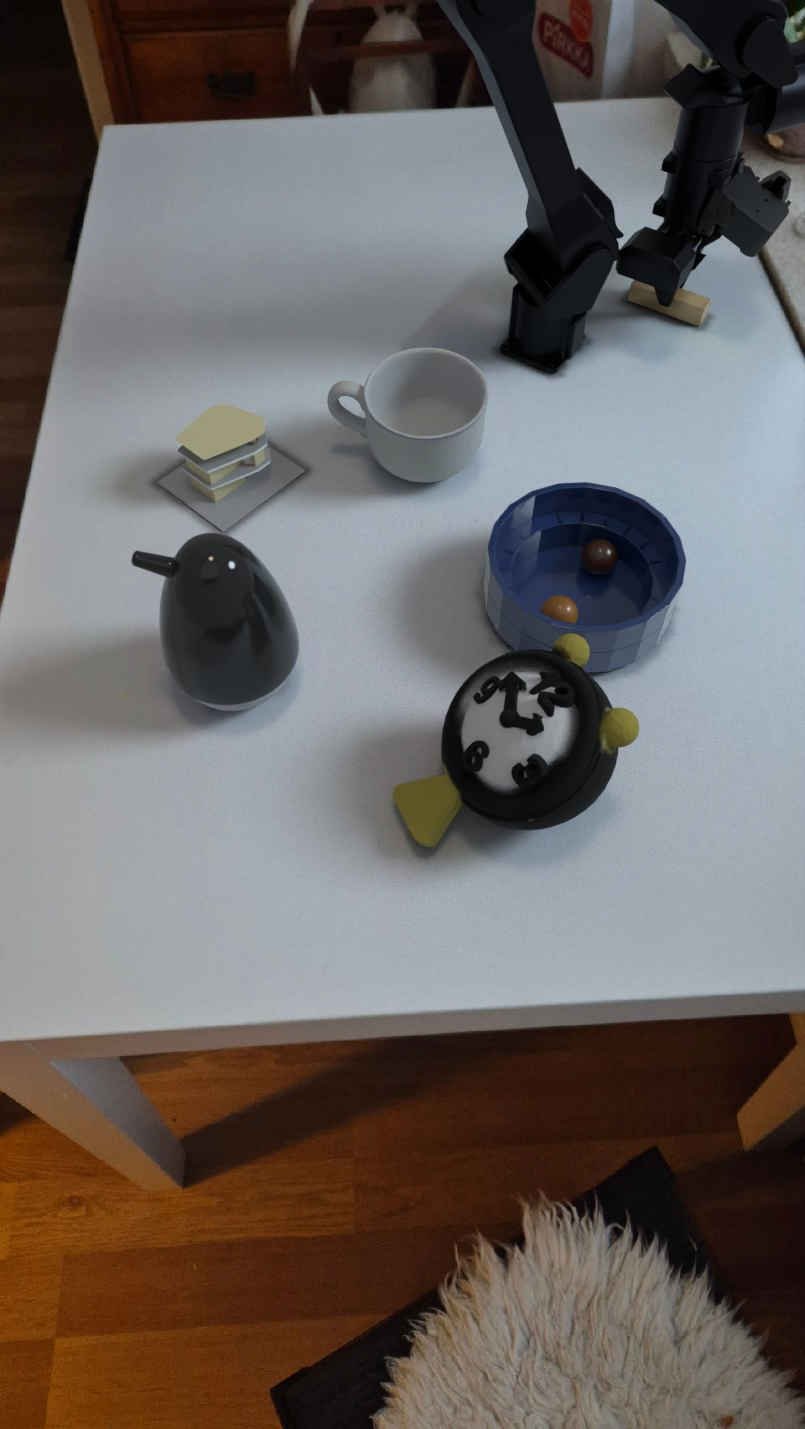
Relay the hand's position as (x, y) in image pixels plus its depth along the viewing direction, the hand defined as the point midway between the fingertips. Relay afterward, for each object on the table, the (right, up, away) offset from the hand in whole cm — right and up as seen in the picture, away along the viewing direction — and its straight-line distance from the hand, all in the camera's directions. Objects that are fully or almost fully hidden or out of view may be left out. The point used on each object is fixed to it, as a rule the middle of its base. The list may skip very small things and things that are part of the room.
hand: (669, 299), depth 103 cm
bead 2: (-11, -29, -19) cm, 37 cm away
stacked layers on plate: (-43, -21, -11) cm, 49 cm away
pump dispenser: (-40, -39, -23) cm, 61 cm away
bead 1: (-15, -34, -23) cm, 44 cm away
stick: (0, -1, +1) cm, 1 cm away
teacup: (-27, -18, -10) cm, 34 cm away
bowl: (-13, -33, -19) cm, 40 cm away
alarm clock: (-19, -48, -28) cm, 59 cm away
